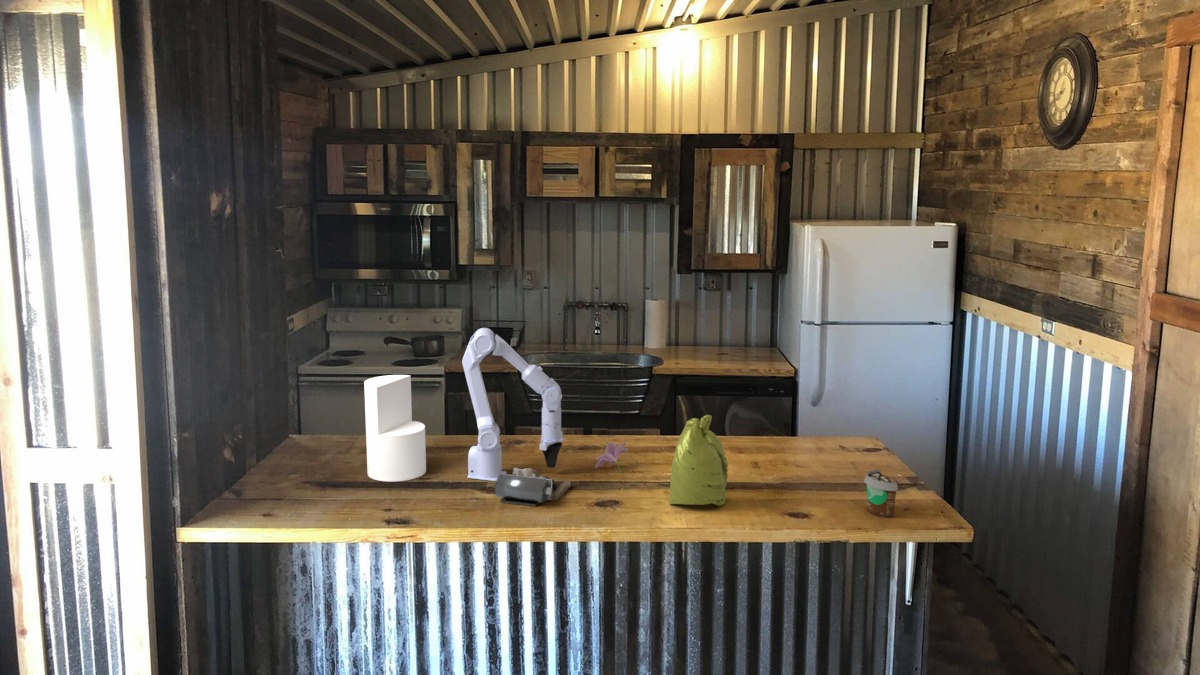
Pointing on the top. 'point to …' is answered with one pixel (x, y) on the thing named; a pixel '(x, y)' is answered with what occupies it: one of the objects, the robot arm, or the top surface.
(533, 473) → the caster wheel
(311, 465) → the top surface
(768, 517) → the top surface
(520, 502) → the motor mount
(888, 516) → the food container
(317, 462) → the top surface
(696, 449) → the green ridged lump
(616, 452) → the lily
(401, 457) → the cylinder
